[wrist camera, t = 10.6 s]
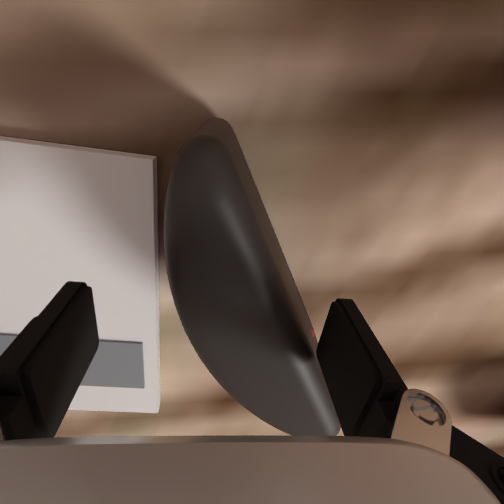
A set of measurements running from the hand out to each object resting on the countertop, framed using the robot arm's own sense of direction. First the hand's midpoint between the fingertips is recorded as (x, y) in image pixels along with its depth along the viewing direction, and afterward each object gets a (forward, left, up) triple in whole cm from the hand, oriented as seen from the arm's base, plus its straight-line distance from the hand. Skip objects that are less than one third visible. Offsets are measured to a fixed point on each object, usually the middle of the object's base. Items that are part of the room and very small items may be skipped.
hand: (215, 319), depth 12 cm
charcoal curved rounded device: (-3, 0, -9) cm, 9 cm away
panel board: (+13, +7, -8) cm, 17 cm away
